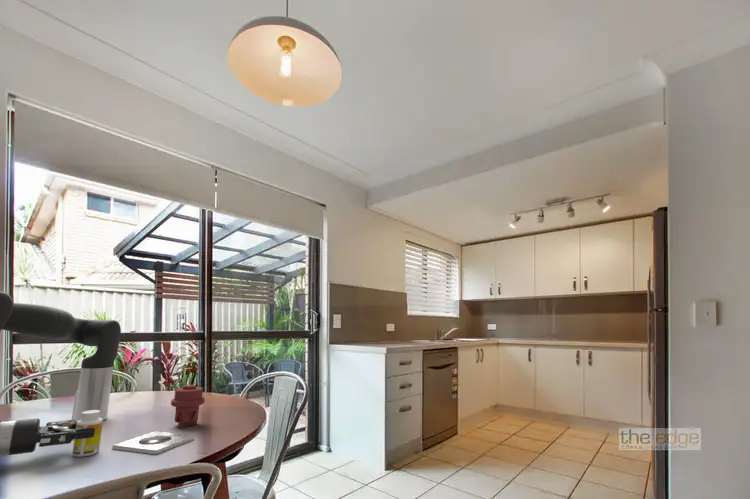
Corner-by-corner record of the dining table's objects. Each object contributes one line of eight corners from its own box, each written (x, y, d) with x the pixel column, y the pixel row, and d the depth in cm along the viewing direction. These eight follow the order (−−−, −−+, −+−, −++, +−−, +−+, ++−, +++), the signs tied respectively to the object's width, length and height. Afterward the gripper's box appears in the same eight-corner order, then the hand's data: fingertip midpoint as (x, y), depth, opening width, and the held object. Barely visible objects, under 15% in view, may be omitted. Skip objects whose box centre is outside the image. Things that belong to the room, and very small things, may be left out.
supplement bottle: (102, 450, 105) (108, 408, 106) (92, 457, 99) (97, 413, 101) (79, 450, 104) (84, 409, 105) (67, 458, 98) (73, 414, 100)
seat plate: (112, 449, 105) (112, 444, 106) (154, 434, 119) (154, 431, 119) (155, 454, 102) (156, 450, 102) (193, 439, 115) (194, 435, 115)
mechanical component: (208, 422, 134) (189, 430, 124) (182, 420, 136) (161, 428, 126) (212, 384, 136) (193, 388, 126) (186, 382, 138) (165, 387, 128)
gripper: (8, 427, 89) (96, 418, 98) (18, 414, 101) (96, 407, 110) (2, 464, 88) (92, 451, 97) (13, 446, 99) (93, 436, 108)
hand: (94, 428), depth 103 cm, fingers open, 8 cm apart
